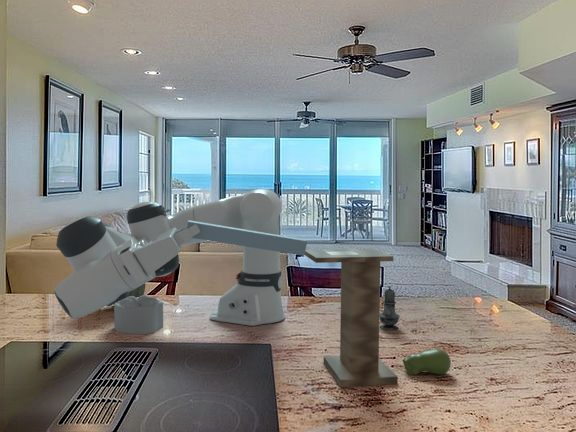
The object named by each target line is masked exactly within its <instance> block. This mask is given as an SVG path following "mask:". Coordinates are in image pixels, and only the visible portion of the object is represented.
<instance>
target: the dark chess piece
mask: <svg viewBox="0 0 576 432" xmlns="http://www.w3.org/2000/svg"><path fill="white" fill-rule="evenodd" d="M383 294H384V295H383V297H384V298H383V299H384V300H383V301H382V303H383V311H382V312H381V313H379V321H380V322H381V323H382V325H379V329H380V328H381V329H380V330H382V331H383V330H384V331H388V330H389V331H392V332H393V330H394V331H398V330H399V329H400V328H399V326H397V323H398V322H399V319H400V317H401V315H400V314H398V313H396V304H397V302H396V301H395V300H396V299H395V297H396V295H395V294H396V292H395V291H394V289H392V287H391V286H388V289H385V290H384V293H383ZM389 331H388V332H389Z"/></svg>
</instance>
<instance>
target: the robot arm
mask: <svg viewBox="0 0 576 432" xmlns="http://www.w3.org/2000/svg"><path fill="white" fill-rule="evenodd" d="M282 206H283V205H282V201H281V198H280V197H279V195H278V194H277V193H276V192H275V191H272V190H271V189H266V188H258V189H253V190H250V191H248V192H245V193H241V194H238V195H234V196H230V197H226V198H220V199H217V200H214V201H209V202H206V203H202V204H198V205H194V206H192V207H188V208H185V209H182V210H180V211H177V212H175V213H173V214H171V215H168V214H166V213H169V212H171V210H170V208H165V206H164V205H163V204H160V203H159V202H157V201H141V202H139V203H137V204H134V205H133V206H132V207H131V208H129V210H128V211H127V212H126V220H127V224H129V230H130V233H128V232H122V233H120V232H121V231H119V230H117V229H116V228H114V227H112V226H111V225H109V224H108V223H107V222H104V221H103V220H102V219H101V218H98V217H95V216H90V215H88V216H81V217H79V218H76V219H73V220H72V221H69V222H68V223H67V224H65V225H64V226H63V227H62V228H61V229H60V230H59V231H58V233H57V237H56V243H55V245H56V247H57V249H58V251H60V253H61V254H62V256H63V257H65V258H66V260H67V261H68V263H69V264H70V266H71V268H72V269H73V271H74V272H72V273H71V274H70V275H68V276H66V277H65V278H64V279H63V280H61V281H60V282H59V283H58V284H57V285H55V287H54V295H55V298H56V299H57V302H58V303H59V304H60V306H61V307H62V309H63V311H64V312H65V314H66V315H67V316H69V317H71V318H72V319H75V320H76V319H80V318H82V317H85V316H87V315H90V314H93V313H95V312H96V311H99V310H101V309H103V308H104V307H110V306H112V305H113V306H114V303H116V302H118V301H120V300H121V299H123V298H125V297H126V296H128V295H129V294H130V292H131V291H132V290H134V289H136V288H138V287H139V286H141V285H143V284H145V285H146V283H147V282H150V281H151V280H153V279H156V278H157V277H159V278H160V277H165V276H168V275H170V274H171V273H173V272H174V271H176V270H177V269H178V267H179V266H180V258H179V257H180V255H179V253H180V251H181V249H182V246H183V245H184V246H185V245H193V244H194V245H195V244H199V243H203V242H207V241H208V240H202V239H196V238H192V237H193V236H195V235H196V234H198V233H199V232H200V229H199V228H198V226H197V225H196V224H194V225H192V226H191V227H189V228H188V229H187V225H188V220H190V221H196V222H203V223H209V224H215V225H221V226H227V227H233V228H239V229H245V230H251V231H257V232H263V233H269V234H275V235H280V227H279V223H280V222H279V217H280V215H281V212H282ZM208 242H209V241H208ZM242 252H243V254H242V257H243V258H242V261H243V265H242V266H243V268H242V270H241V271H240V272H239V273H237V274H236V275H235V280H237V283H236V284H235V285H233V286H232V287H231V288H230V289H228V290H227V291H226V292H225V293H223V294H222V295H221V297H219V300H218V306H217V309H215V310H214V311H212V312H211V313H210V317H209V318H210V320H211V321H215V322H216V321H217V322H223V323H224V322H225V323H232V324H238V325H245V326H259V325H263V324H264V325H265V324H272V323H273V324H274V323H277V322H282V321H284V320H285V319H286V315H285V312H284V307H283V302H282V294H281V293H282V292H281V290H282V283H283V281H282V279H283V278H282V271H281V261H280V260H281V252H277V251H271V250H265V249H258V248H252V247H246V246H242Z"/></svg>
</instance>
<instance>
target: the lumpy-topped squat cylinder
mask: <svg viewBox="0 0 576 432" xmlns="http://www.w3.org/2000/svg"><path fill="white" fill-rule="evenodd" d="M113 306H114V311H113V317H114V319H113V320H114V323H113V325H114V331H115V332H118V333H121V334H129V335H150V334H154V333H156V332H157V331H158V330H160V329H162V328H164V302H163V301H162V299H161V300H160V299H158V298H156V297H150V296H149V295H147V294H144V295H142V296H140V297H137V298H135V297H134V296H129V297H127V298H125V299H122V300H120V301H118V302H116V303H115V304H113Z"/></svg>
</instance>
